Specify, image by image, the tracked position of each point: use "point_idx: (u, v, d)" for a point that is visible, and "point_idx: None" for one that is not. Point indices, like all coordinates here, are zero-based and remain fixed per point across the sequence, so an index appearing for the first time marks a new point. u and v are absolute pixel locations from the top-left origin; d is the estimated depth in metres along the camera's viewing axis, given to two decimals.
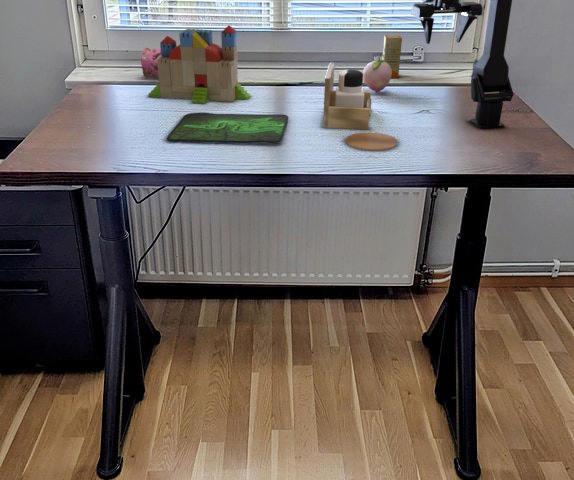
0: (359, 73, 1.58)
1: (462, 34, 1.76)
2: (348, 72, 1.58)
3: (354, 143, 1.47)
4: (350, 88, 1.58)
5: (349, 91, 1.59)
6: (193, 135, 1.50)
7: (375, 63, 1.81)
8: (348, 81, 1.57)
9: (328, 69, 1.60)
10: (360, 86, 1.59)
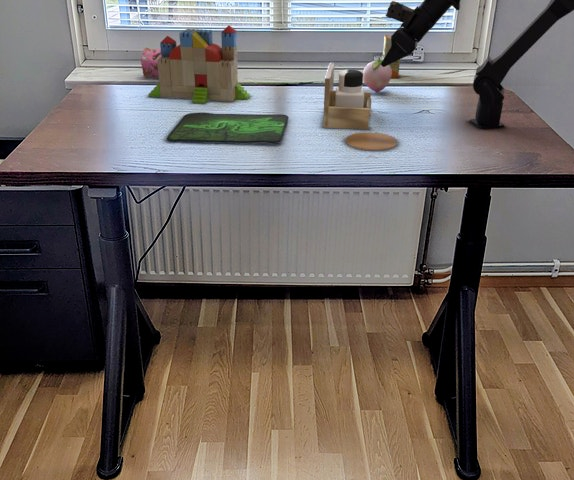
0: (359, 73, 1.58)
1: None
2: (348, 72, 1.58)
3: (354, 143, 1.47)
4: (350, 88, 1.58)
5: (349, 91, 1.59)
6: (193, 135, 1.50)
7: (375, 63, 1.81)
8: (348, 81, 1.57)
9: (328, 69, 1.60)
10: (360, 86, 1.59)
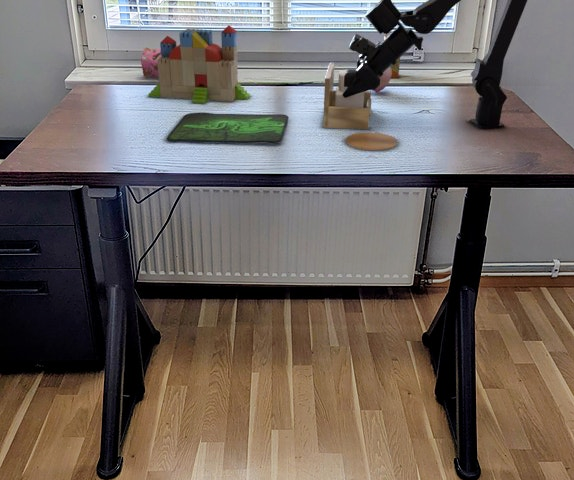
0: None
1: None
2: (348, 72, 1.58)
3: (354, 143, 1.47)
4: None
5: None
6: (193, 135, 1.50)
7: None
8: (348, 81, 1.57)
9: (328, 69, 1.60)
10: None
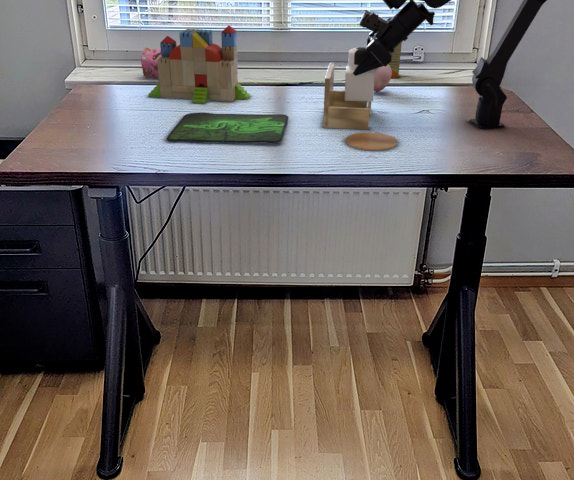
0: None
1: None
2: (358, 49, 1.55)
3: (354, 143, 1.47)
4: None
5: None
6: (193, 135, 1.50)
7: None
8: (359, 59, 1.54)
9: (328, 69, 1.60)
10: None
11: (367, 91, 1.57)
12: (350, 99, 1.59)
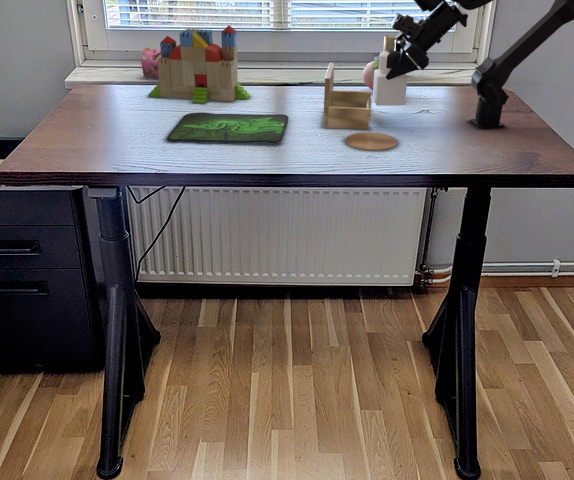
0: None
1: None
2: (390, 53, 1.51)
3: (354, 143, 1.47)
4: None
5: None
6: (193, 135, 1.50)
7: (375, 63, 1.81)
8: (391, 62, 1.51)
9: (328, 69, 1.60)
10: None
11: (399, 95, 1.54)
12: (382, 103, 1.55)
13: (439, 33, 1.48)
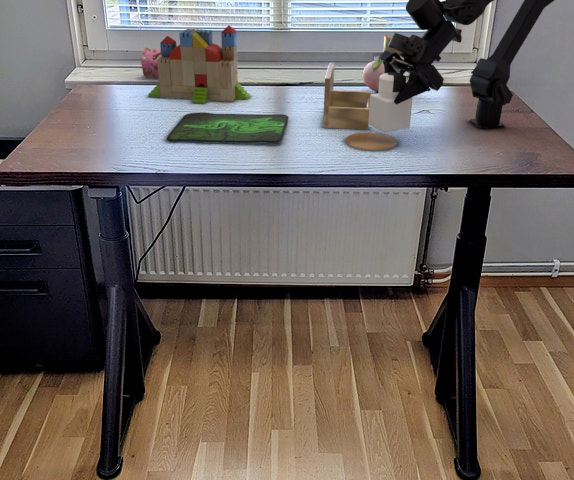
0: (403, 75, 1.43)
1: None
2: (394, 76, 1.41)
3: (354, 143, 1.47)
4: None
5: None
6: (193, 135, 1.50)
7: (375, 63, 1.81)
8: (398, 86, 1.41)
9: (328, 69, 1.60)
10: None
11: (405, 118, 1.46)
12: (390, 130, 1.45)
13: (440, 51, 1.42)
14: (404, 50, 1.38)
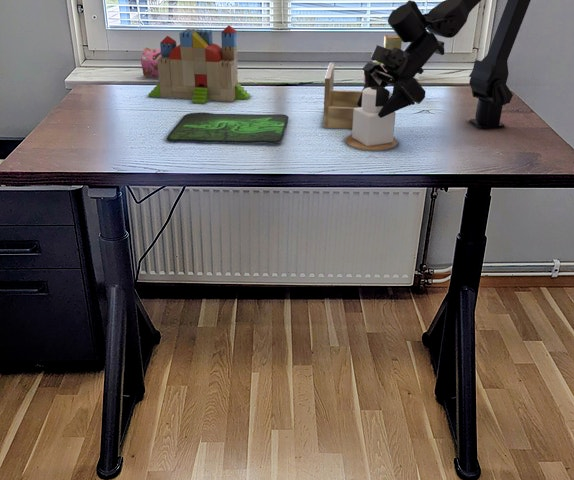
0: (386, 89, 1.43)
1: None
2: (377, 90, 1.41)
3: (354, 143, 1.47)
4: None
5: None
6: (193, 135, 1.50)
7: None
8: (381, 100, 1.41)
9: (328, 69, 1.60)
10: None
11: (388, 132, 1.45)
12: (372, 144, 1.45)
13: (422, 63, 1.42)
14: (386, 63, 1.38)
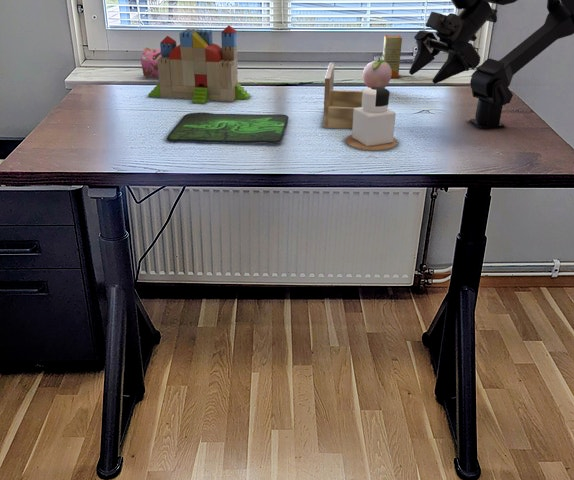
0: (386, 89, 1.43)
1: None
2: (377, 90, 1.41)
3: (354, 143, 1.47)
4: (382, 107, 1.42)
5: (380, 111, 1.43)
6: (193, 135, 1.50)
7: (375, 63, 1.81)
8: (381, 100, 1.41)
9: (328, 69, 1.60)
10: (388, 103, 1.44)
11: (388, 132, 1.45)
12: (372, 144, 1.45)
13: (476, 30, 1.43)
14: (441, 29, 1.40)
